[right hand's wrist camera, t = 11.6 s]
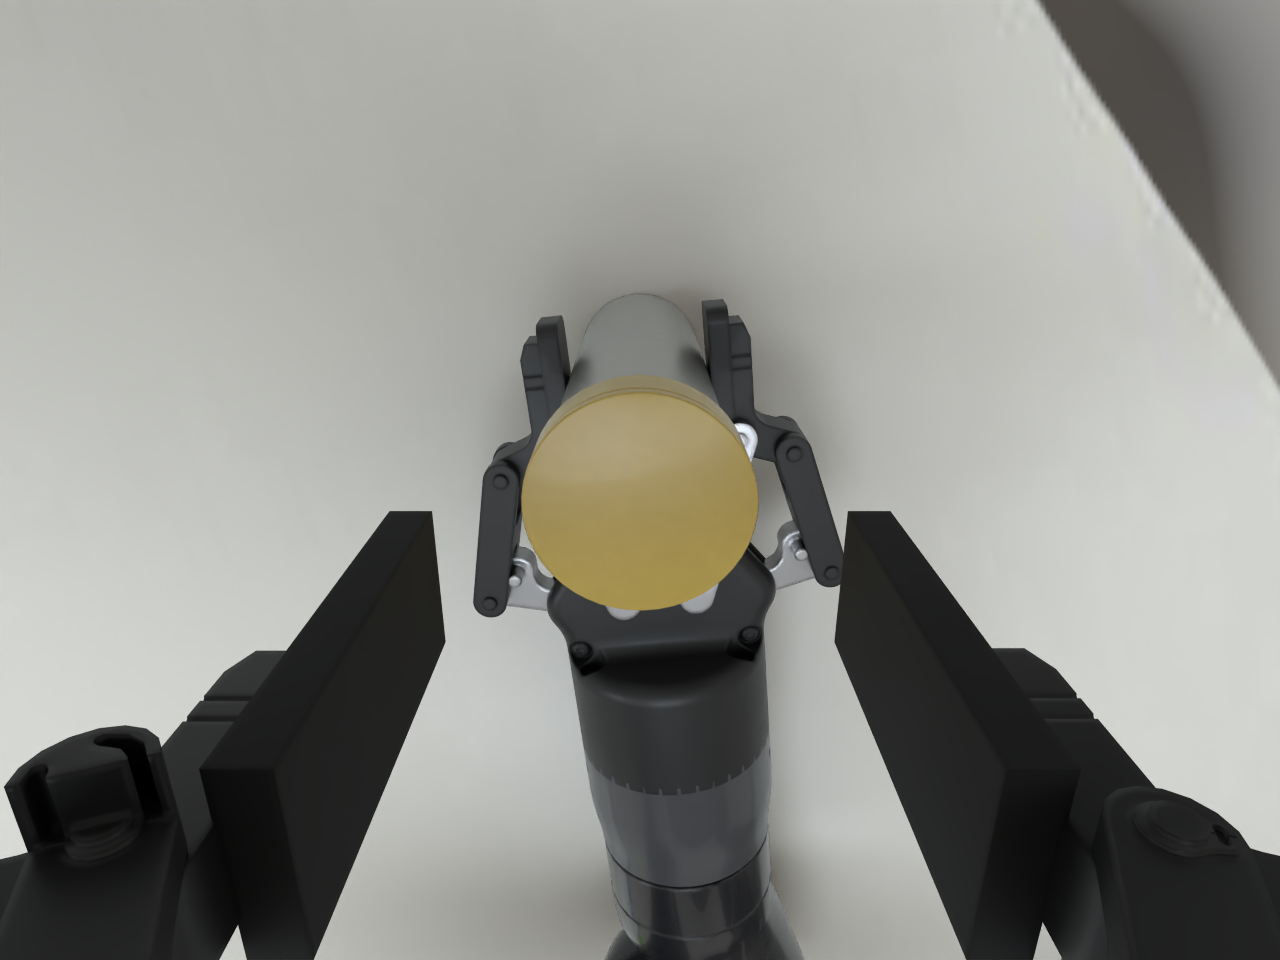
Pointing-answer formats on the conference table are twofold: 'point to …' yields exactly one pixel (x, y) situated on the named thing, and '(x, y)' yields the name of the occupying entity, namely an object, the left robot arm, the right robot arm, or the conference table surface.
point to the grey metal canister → (639, 346)
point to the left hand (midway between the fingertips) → (630, 314)
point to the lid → (639, 493)
